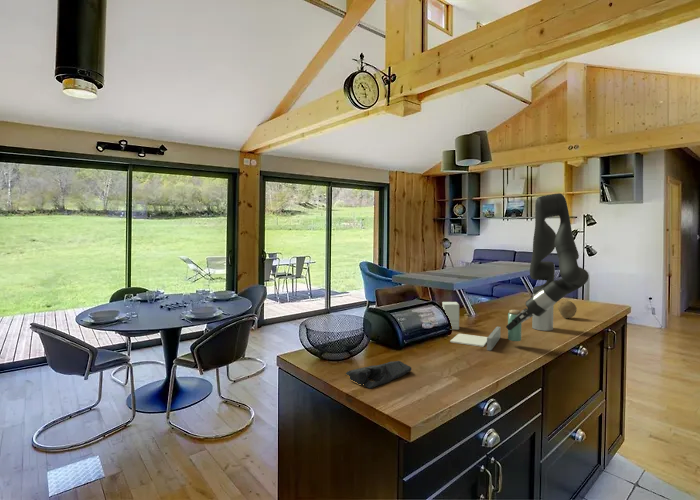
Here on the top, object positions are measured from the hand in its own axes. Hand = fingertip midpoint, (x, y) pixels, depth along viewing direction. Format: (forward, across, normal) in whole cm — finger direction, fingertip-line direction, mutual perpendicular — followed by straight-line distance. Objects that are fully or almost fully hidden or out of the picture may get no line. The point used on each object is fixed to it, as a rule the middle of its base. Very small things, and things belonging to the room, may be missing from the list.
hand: (510, 327), depth 163 cm
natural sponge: (+1, -71, +12) cm, 72 cm away
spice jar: (+2, 0, +5) cm, 5 cm away
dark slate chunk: (+22, +62, -11) cm, 67 cm away
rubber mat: (+17, +3, -6) cm, 18 cm away
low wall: (+10, +2, +1) cm, 10 cm away
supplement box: (+29, -12, -17) cm, 36 cm away
